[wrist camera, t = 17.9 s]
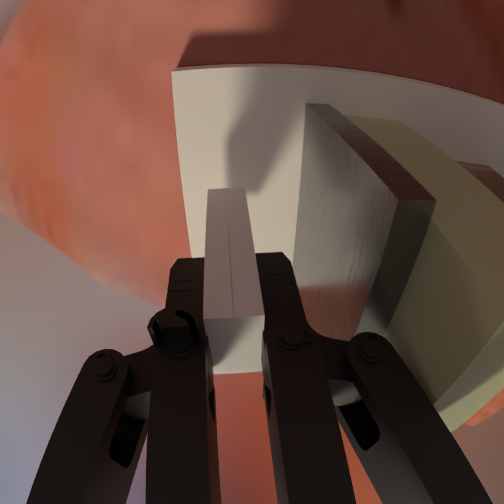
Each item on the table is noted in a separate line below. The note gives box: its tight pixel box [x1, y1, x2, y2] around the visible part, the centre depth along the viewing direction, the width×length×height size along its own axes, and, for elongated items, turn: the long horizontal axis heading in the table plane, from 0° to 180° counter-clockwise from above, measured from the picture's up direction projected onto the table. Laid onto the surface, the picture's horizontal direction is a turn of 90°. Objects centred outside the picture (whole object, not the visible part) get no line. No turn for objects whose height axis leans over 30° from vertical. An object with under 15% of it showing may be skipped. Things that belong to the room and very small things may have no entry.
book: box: [343, 115, 504, 432], centre depth 11 cm, size 8×4×11 cm, turn 0°
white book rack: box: [171, 64, 504, 264], centre depth 14 cm, size 12×24×8 cm, turn 90°
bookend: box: [292, 103, 437, 341], centre depth 12 cm, size 9×1×8 cm, turn 0°
